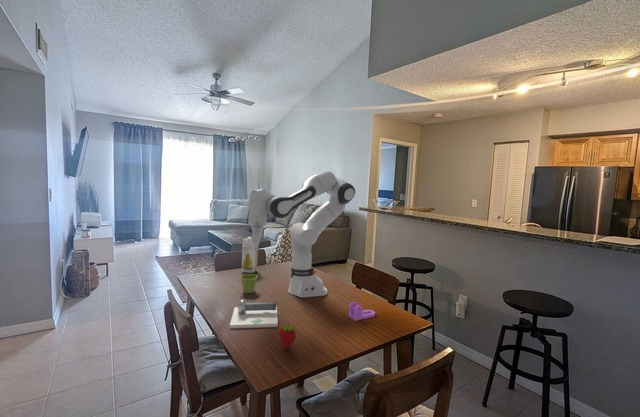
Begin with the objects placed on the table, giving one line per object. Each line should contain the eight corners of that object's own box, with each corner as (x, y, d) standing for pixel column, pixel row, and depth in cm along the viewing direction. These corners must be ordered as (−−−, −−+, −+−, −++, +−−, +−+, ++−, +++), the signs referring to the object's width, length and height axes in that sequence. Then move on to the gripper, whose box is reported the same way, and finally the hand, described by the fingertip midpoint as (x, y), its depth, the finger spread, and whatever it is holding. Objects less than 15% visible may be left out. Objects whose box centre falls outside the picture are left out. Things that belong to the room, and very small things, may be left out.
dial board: (276, 309, 147) (276, 305, 147) (277, 326, 129) (277, 323, 129) (234, 310, 143) (234, 306, 143) (229, 328, 126) (229, 324, 126)
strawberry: (288, 341, 118) (289, 317, 117) (298, 350, 112) (299, 325, 111) (275, 345, 114) (275, 320, 113) (284, 355, 108) (285, 329, 107)
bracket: (355, 321, 138) (356, 306, 138) (348, 316, 143) (349, 302, 143) (377, 316, 145) (378, 302, 144) (370, 311, 149) (371, 298, 149)
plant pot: (236, 292, 165) (237, 277, 165) (246, 287, 174) (247, 273, 173) (250, 296, 162) (251, 280, 161) (260, 290, 171) (261, 275, 170)
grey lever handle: (237, 314, 135) (237, 302, 135) (238, 311, 139) (238, 299, 138) (276, 313, 138) (276, 301, 137) (276, 310, 141) (276, 298, 141)
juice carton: (240, 272, 201) (241, 237, 199) (245, 269, 209) (246, 235, 207) (253, 273, 200) (254, 238, 198) (258, 270, 207) (259, 236, 205)
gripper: (263, 224, 140) (262, 253, 141) (264, 219, 160) (263, 244, 161) (249, 224, 139) (248, 253, 140) (252, 218, 159) (251, 244, 160)
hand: (256, 248), depth 151 cm, fingers open, 8 cm apart
